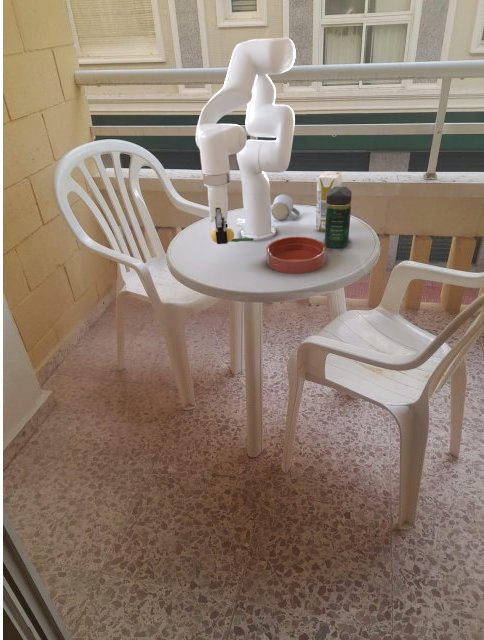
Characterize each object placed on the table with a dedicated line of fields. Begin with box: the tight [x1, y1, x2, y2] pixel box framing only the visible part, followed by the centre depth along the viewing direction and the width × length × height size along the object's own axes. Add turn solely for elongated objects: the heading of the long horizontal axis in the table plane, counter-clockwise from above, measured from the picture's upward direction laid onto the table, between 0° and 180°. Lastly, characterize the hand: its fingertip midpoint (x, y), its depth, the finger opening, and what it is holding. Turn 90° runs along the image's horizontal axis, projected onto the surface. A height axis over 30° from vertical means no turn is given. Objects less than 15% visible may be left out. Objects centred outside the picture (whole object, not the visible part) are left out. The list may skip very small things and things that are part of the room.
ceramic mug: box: [271, 194, 301, 221], centre depth 172 cm, size 11×8×8 cm
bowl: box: [265, 235, 327, 275], centre depth 142 cm, size 18×18×4 cm
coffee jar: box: [323, 186, 353, 250], centre depth 147 cm, size 10×8×19 cm
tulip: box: [210, 227, 254, 244], centre depth 135 cm, size 13×5×4 cm, turn 90°
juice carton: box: [315, 171, 343, 232], centre depth 158 cm, size 8×9×19 cm
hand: (222, 239), depth 136 cm, fingers closed on tulip, 4 cm apart
